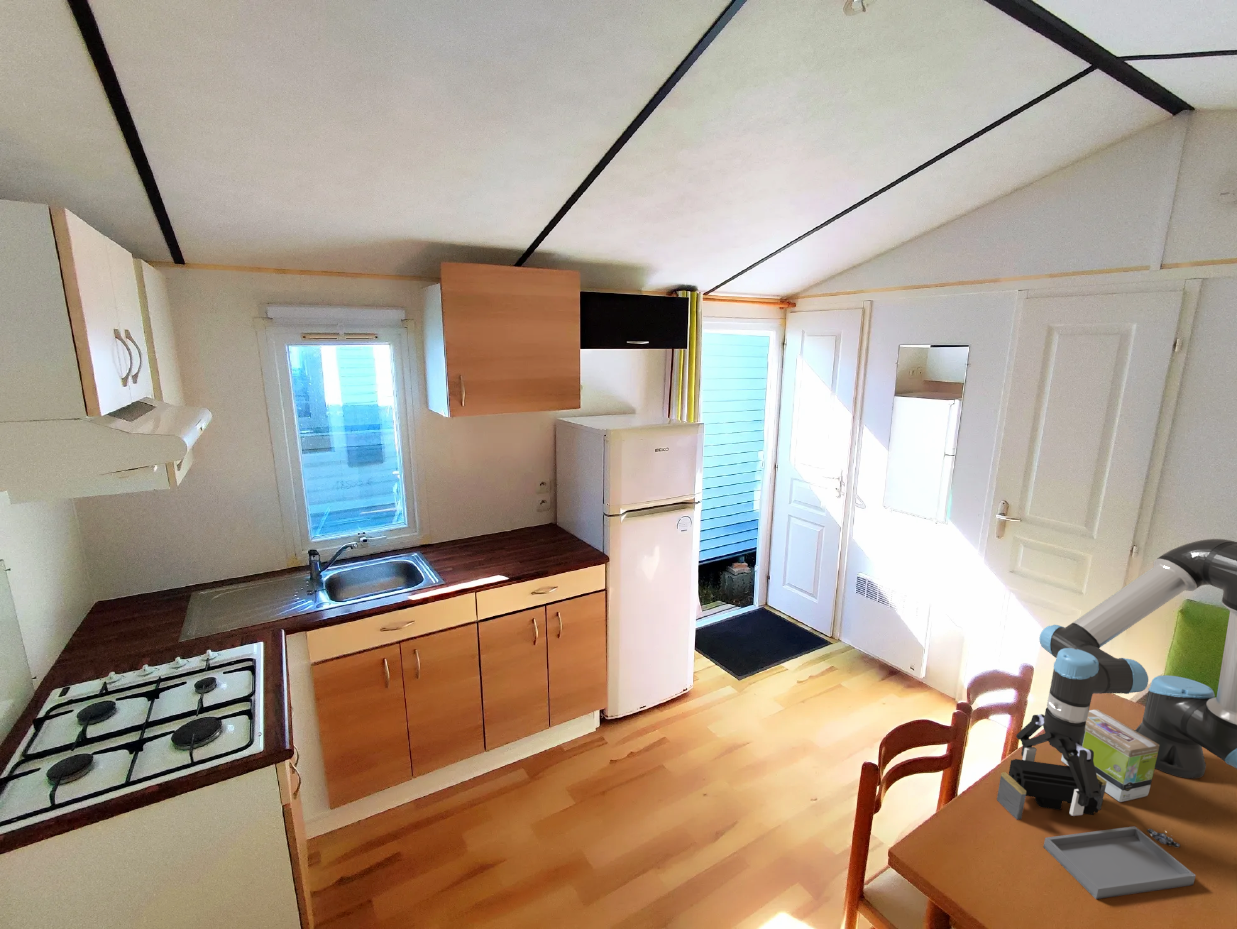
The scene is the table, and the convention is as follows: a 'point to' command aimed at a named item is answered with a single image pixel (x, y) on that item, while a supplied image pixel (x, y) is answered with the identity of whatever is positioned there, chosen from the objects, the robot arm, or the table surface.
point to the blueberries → (1163, 838)
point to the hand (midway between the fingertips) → (1049, 791)
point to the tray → (1118, 862)
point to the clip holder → (1015, 795)
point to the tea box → (1119, 756)
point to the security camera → (1048, 784)
